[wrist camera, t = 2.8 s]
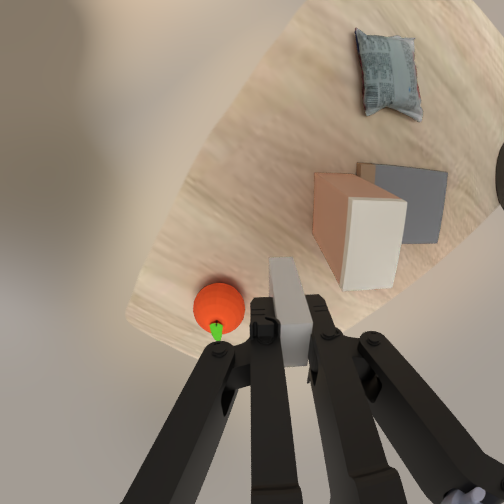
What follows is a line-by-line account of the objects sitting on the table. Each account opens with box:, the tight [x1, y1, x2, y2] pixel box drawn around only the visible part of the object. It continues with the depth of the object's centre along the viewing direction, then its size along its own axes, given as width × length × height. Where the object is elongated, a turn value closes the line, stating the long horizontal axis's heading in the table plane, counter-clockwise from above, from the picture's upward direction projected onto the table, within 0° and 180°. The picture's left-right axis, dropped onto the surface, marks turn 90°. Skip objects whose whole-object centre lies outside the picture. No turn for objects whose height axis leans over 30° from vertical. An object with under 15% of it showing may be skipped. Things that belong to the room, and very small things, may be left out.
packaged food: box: [355, 28, 423, 122], centre depth 25 cm, size 9×12×5 cm
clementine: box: [193, 283, 245, 341], centre depth 37 cm, size 8×7×7 cm
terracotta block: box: [312, 173, 407, 291], centre depth 28 cm, size 5×8×14 cm, turn 2°
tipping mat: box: [356, 163, 448, 244], centre depth 33 cm, size 15×11×2 cm
